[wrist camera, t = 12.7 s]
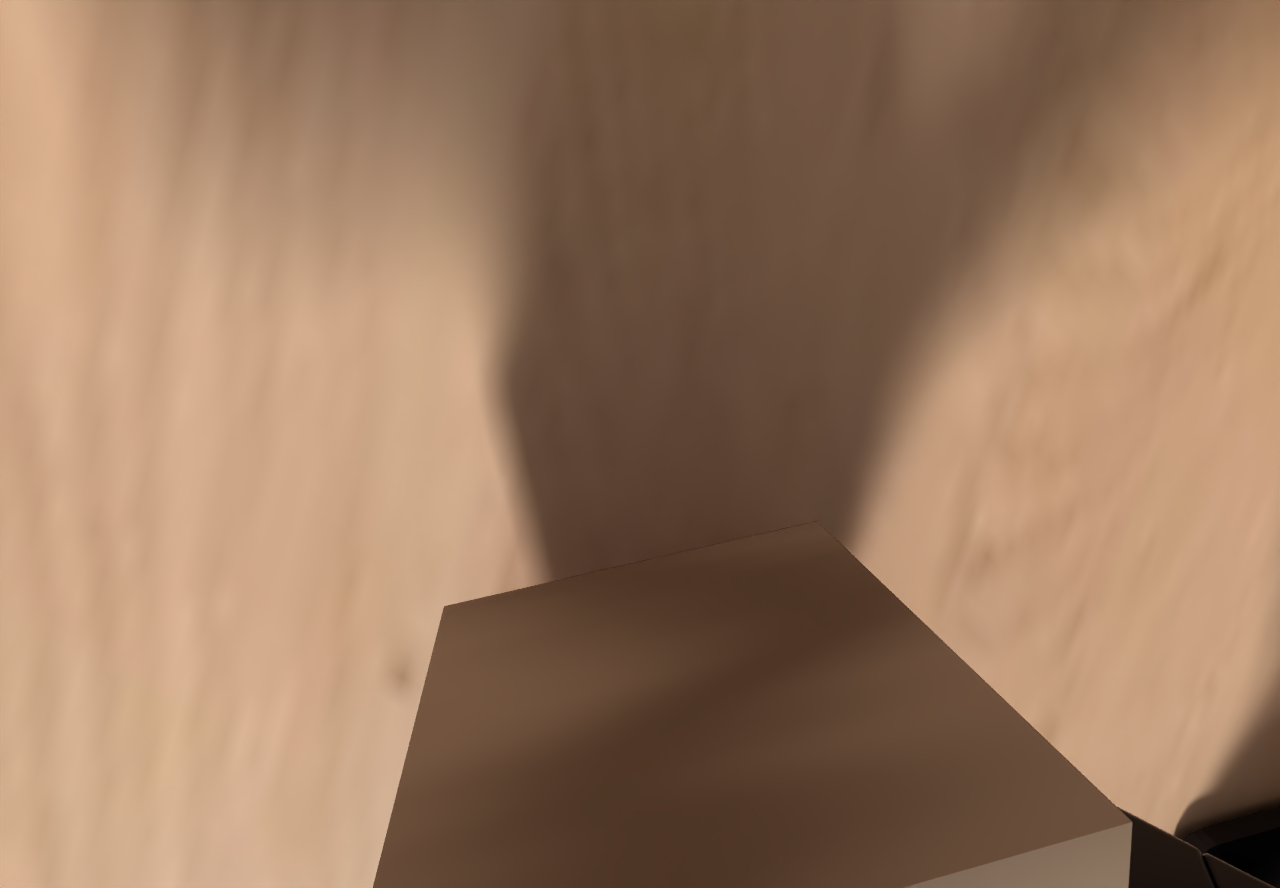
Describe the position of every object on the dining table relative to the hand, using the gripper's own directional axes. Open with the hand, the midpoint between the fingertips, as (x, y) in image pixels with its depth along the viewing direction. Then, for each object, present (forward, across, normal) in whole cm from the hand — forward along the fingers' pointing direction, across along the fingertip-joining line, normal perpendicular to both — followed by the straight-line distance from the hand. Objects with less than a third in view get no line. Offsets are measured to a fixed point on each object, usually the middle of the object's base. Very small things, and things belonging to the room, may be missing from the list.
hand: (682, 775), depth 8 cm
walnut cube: (+1, 0, 0) cm, 1 cm away
